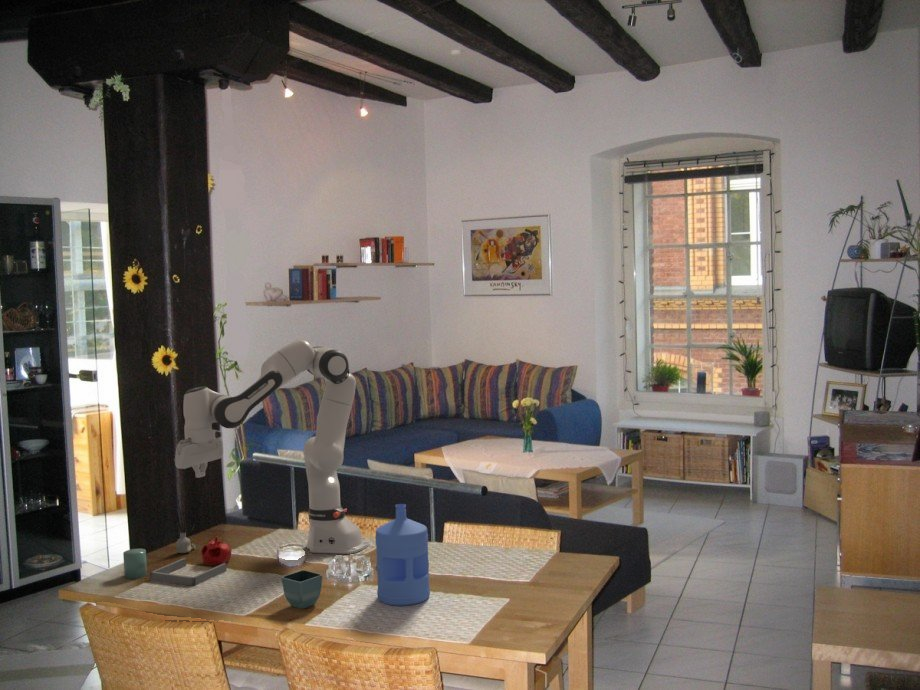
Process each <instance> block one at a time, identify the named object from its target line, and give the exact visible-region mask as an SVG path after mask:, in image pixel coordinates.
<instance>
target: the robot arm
mask: <svg viewBox="0 0 920 690" xmlns="http://www.w3.org/2000/svg"><path fill="white" fill-rule="evenodd" d="M305 371H307V372H308V373H309V374H311V375H313V376H316V377H318V378H321V379H324V385H325V387H324V391H323V395H322V399H321V401H320V405H319V409H318V412H317V416H316V428H315V436H311V437H310V438H308V439H307V440H306V441H305V443H304V444H303V449H302V451H303V456H304V466H305V473H306V479H307V483H308V484H307V485H308V502H309V507H308V511H307V513H308V521H309V527H308V538H307V542H306V546H305V547H306V548H307V549H308V550H309V553H314V554H315V553H316V554H317V553H318V554H319V553H320V554H338V555H339V554H341V555H342V554H343V555H351V554H355V553H358V552H360V551H363V550H365V549H367V547H368V546H369V544H370V543H369V541H368V540H364V539H363V535H362V531H361V528H360V527H359V526H357V525H356V524H355V523H354V522H353V521H351V520H350V519H349V518H347V516H346V512H347V511H348V510H347V509H348V508H346V507H345V508H343V506H342V505H341V488H340V486H341V485H340V481H339V478H338V471H337V470H339V469H340V467H341V466H342V465H343V462H344V459H345V457H344V452H345V451H344V449H345V443H346V431H347V427H348V423H349V418H350V415H351V411H352V408H353V405H354V404H353V403H354V400H355V394H356V387H357V381H356V377H355V376H353V374H352V373H351V372H350V365H349V360H348V357H347V356H346V354H345V353H343V352H342V351H341V350H339V349H335V348H332V347H325V346H324V347H323V346H312V344H310V343H309V342H308V341H307V340H304V339H297V340H294V341H293V342H291V343H288V344H287V345H284V346H283V347H281V348H280V349H278V350H277V351H275V352H273V354H271V355H270V356H269V357H268V358H267V359H265V361H264V362H263V363H262V364H261V368H260V375H259V377H258V379H257V380H256V381H254V382H253V383H252V384H251V385H250V386H248V387H247V388H246V389H245V390H243V391H242V392H241V393H239V394H237V395H233V396H230V395H227V394H223V393H220V392H217V391H214V390H212V389H210V388H208V386H205V385H204V386H203V385H202V386H197V387H193V388H189V389H188V390H187V391H186V392H185V393H184V395H183V402H182V403H183V409H182V410H183V417H184V426H183V427H184V428H183V429H184V431H183V432H184V439H181V440H179V442H178V443H177V444H176V449H175V458H174V464H175V467H176V469H181V470H183V469H184V470H186V469H188V468H192V469H193V471H194V473H195V478H197V479H199V478H203V477H206V471H207V468H208V462H212V461H216V460H219V459H222V458H223V456H224V443H223V439H222V437H223V432H222V430H217V429H213V427H212V426H213V425H212V424H213V423H217V424H219V425H220V426H221V427H222V428H224V429H225V428H226V429H235V428H238V427H240V426H241V425H242V424H243V423H244V422H245V420H246V419H247V417H248V416H249V414H250V413H251V411H252V410H253V409H254V408H255V407H257V406H258V405H259V404H260V403H262V402H263V401H264V400H265V399H266V398H268V397H269V396H270V395H272V394H273V393H274V392H275V391H277V390H278V389H280V388H281V387H283V386H284V385H286V384H288V383H289V382H291V381H292V380H293V379H295V378H296V377H298V376H299V375H301V374H302V373H304V372H305Z"/></svg>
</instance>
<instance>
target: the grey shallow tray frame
mask: <svg viewBox="0 0 920 690" xmlns="http://www.w3.org/2000/svg"><path fill="white" fill-rule="evenodd" d="M186 566H187V558H186V557H184V558H181V559H178V560H175V561H174V562H172V563H169V564H167V565H163V566H162V567H159V568H156V569H154V570H151V571H150V572H149V580H150V581H154V582H155V581H156V582H162V583H163V582H164V583H168V584H169V583H171V584H176V585H177V584H178V585H184V586H191V587H192V586H193V587H195V586H197V585H199V584H201V583H204V582H205V581H208V580H210V579H212V578H215V577H216V576H219V575H221V574H223V573H224V572H227V569H228V568H227V567H228V566H227V562H226V563H223V564H221V565H217V566H215V567H212V568H210V569H207V570H206V571H204V572H202V573H199V574H197V575H195V576H191V575H190V576H189V575H181V574H176V573H175V574H174V573H173V572H175V571H177V570H179V569H182V568H184V567H186Z"/></svg>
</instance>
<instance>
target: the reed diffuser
mask: <svg viewBox="0 0 920 690" xmlns="http://www.w3.org/2000/svg"><path fill="white" fill-rule="evenodd" d="M171 501H172V505H173V508H174V511H175V515H176V518H177V519H176V520H177V522H178V526H179V530H180V533H179V534H180V535H179V538H178V539H177V540H176V551H177V553H178V554H185V553H189V552H191V550H195V549H196V548H197V547H196V545H195V544H194V543H191V539H190V538H188V537H187V534H186V527H184V525H186V522H187V521H186V520H187V512H185V514H184V515H185V516H184V522H183V518H182V513H181V507H180V501H179V499H177V504H178V509H179V514H180V516H179V515H178V512H177V509H176V506H175V501H174V500H173V499H171ZM187 504H188V496H186V500H185V510H187V507H188V505H187ZM179 517H180V519H179ZM180 520H181V522H180ZM183 523H184V525H183Z"/></svg>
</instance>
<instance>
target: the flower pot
mask: <svg viewBox="0 0 920 690" xmlns="http://www.w3.org/2000/svg"><path fill="white" fill-rule="evenodd" d="M322 582H323V574H321V573H318V572H314V571H309V570H305V569H301V570H298V571H295V572H292V573H289V574H286V575H283V576H281V585H282V590H283V594H284V597H285V599H286V601H287V602H288V604H289V605H290V606H291V607H293V608H294V607H295V608H297V609H301V610H303V609H306V608H308V607H312V606H314V605H315V604H316V603H317V602H318V599H319V597H320V595H321V592H322V591H321V590H322V584H323V583H322Z"/></svg>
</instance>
